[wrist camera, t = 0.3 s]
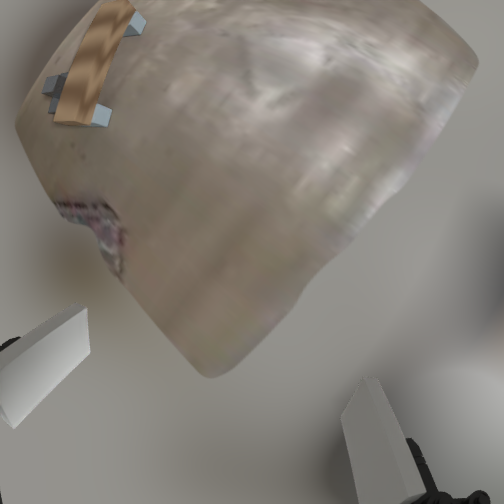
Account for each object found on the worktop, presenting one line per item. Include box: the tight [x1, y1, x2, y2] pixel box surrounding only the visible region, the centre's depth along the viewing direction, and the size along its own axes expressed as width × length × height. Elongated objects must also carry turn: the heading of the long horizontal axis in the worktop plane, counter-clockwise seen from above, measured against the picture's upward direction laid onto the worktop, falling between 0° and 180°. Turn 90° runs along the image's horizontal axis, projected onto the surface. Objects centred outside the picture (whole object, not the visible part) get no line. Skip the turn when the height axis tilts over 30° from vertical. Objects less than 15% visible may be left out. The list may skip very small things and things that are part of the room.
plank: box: [53, 0, 136, 126], centre depth 27 cm, size 22×5×4 cm, turn 167°
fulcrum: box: [42, 72, 69, 114], centre depth 30 cm, size 8×8×7 cm
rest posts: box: [83, 12, 146, 127], centre depth 31 cm, size 21×6×4 cm, turn 167°
